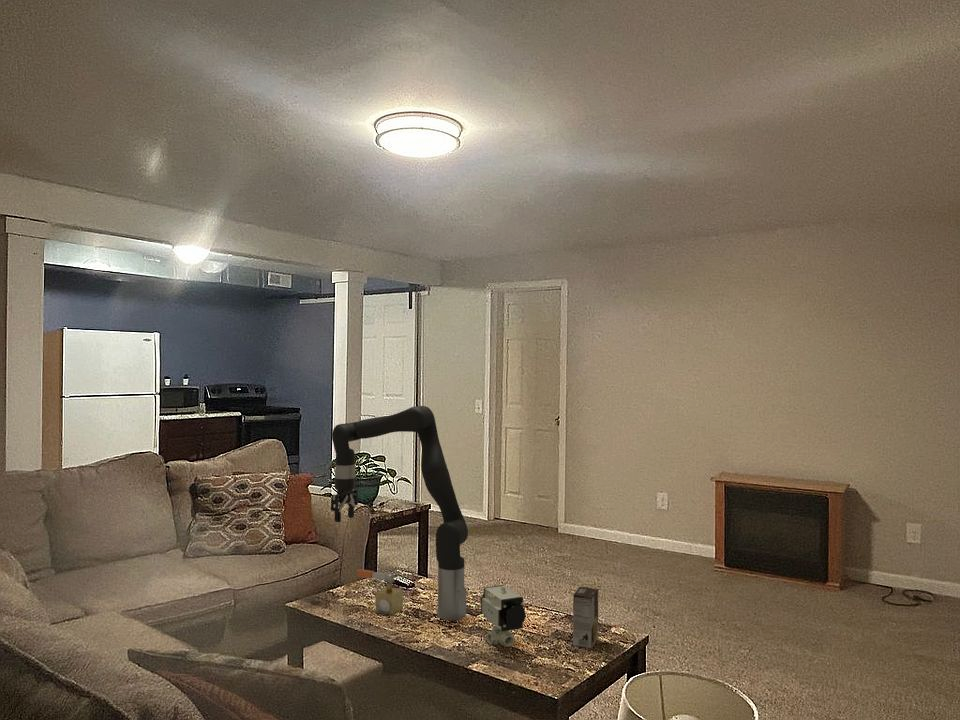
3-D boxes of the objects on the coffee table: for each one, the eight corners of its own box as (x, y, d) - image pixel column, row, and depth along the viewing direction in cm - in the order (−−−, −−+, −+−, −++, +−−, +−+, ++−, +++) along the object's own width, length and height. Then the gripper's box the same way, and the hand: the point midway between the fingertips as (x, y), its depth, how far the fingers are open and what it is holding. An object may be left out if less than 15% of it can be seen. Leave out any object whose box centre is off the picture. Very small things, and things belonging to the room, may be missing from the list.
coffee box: (579, 635, 232) (579, 585, 232) (598, 638, 230) (599, 588, 230) (571, 645, 224) (572, 594, 224) (591, 648, 221) (592, 597, 222)
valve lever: (395, 580, 254) (395, 573, 254) (391, 583, 251) (391, 575, 251) (361, 575, 260) (361, 568, 260) (356, 577, 257) (356, 570, 257)
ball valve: (476, 635, 231) (477, 580, 231) (499, 631, 235) (500, 577, 235) (501, 656, 215) (502, 597, 215) (526, 651, 218) (526, 594, 218)
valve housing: (403, 608, 256) (404, 579, 256) (391, 616, 247) (391, 586, 247) (387, 605, 258) (387, 577, 258) (373, 613, 250) (374, 584, 250)
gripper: (342, 480, 259) (341, 524, 258) (363, 474, 272) (363, 517, 272) (325, 478, 262) (324, 522, 262) (347, 473, 275) (347, 515, 275)
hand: (344, 519), depth 267 cm, fingers open, 8 cm apart
